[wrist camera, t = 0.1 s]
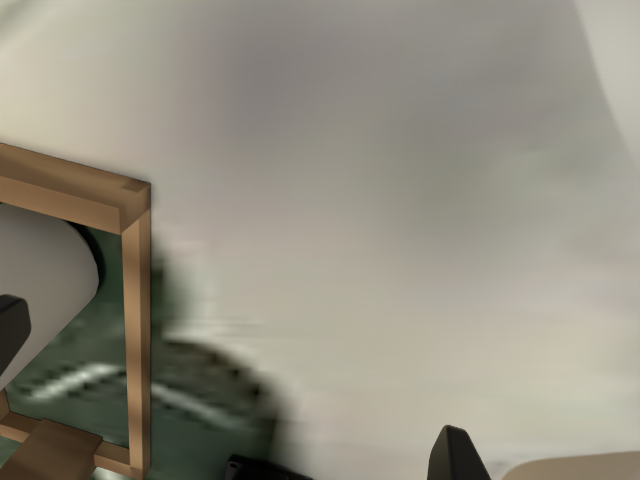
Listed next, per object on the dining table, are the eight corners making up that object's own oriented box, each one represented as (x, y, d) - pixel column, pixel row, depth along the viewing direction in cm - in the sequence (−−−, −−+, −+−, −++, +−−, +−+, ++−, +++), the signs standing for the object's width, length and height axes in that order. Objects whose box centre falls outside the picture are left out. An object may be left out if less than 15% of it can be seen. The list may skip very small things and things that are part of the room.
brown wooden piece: (150, 471, 39) (90, 578, 32) (2, 423, 40) (-86, 518, 34) (150, 183, 26) (47, 264, 19) (-73, 123, 27) (-246, 180, 20)
